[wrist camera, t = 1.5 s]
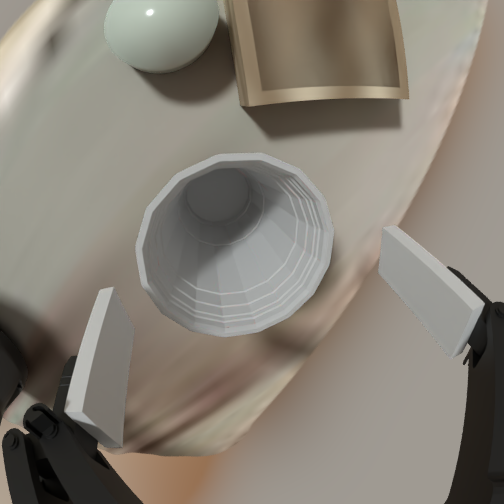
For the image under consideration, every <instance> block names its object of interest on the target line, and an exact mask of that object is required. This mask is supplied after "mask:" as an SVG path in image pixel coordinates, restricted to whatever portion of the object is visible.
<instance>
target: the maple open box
mask: <svg viewBox="0 0 504 504" xmlns="http://www.w3.org/2000/svg"><path fill="white" fill-rule="evenodd" d="M223 2H224V8H225V14H226V20H227V26H228V32H229V38H230V44H231V50H232V56H233V62H234V68H235V75H236V81H237V87H238V93H239V100H240V106H249V107H251V106H258V105H266V104H274V103H283V102H293V101H305V100H319V99H341V98H393V99H409V89H408V76H407V66H406V57H405V49H404V42H403V36H402V29H401V24H400V18H399V13H398V8H397V3H396V0H223Z"/></svg>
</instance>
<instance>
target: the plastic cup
mask: <svg viewBox="0 0 504 504" xmlns="http://www.w3.org/2000/svg"><path fill="white" fill-rule="evenodd" d="M333 237H334V228H333V224H332V221H331V217H330V213H329V210H328V206H327V203H326V199H325V197H324V196H323V194H322V193H321V192H320V191H319V190H318V189H317V187H316V186H315V185H314V184H313V183H312V182H311V180H310V179H309V178H308V177H307V176H306V175H305V174H304V172H303V171H302V170H301V169H299V168H297V167H295V166H292V165H290V164H288V163H286V162H283V161H281V160H279V159H276V158H274V157H272V156H269V155H267V154H264V153H230V154H217V155H214V156H212V157H210V158H208V159H206V160H204V161H201V162H199V163H197V164H195V165H193V166H191V167H189V168H187V169H185V170H183V171H181V172H179V173H177V174H175V175H174V176H173V177H172V179H171V180H170V181H169V182H168V183H167V184H166V185H165V187H164V188H163V189H162V190H161V191H160V192H159V194H158V195H157V196H156V197H155V198H154V200H153V201H152V202H151V203H150V204H149V206H148V207H147V208H146V211H145V214H144V217H143V221H142V224H141V228H140V231H139V235H138V239H137V242H136V246H135V251H136V257H137V263H138V269H139V274H140V279H141V285H142V286H143V288H144V289H145V291H146V292H147V294H148V295H149V296H150V298H151V299H152V301H153V302H154V303H155V305H156V306H157V308H158V309H159V310H160V312H161V313H162V314H163V315H165V316H167V317H168V318H170V319H172V320H173V321H175V322H176V323H178V324H180V325H181V326H183V327H185V328H187V329H188V330H190V331H193V332H198V333H203V334H209V335H214V336H220V337H230V336H237V335H244V334H251V333H257V332H260V331H262V330H264V329H266V328H268V327H270V326H273V325H275V324H277V323H279V322H281V321H283V320H285V319H287V318H289V317H290V316H291V315H292V314H293V313H294V312H295V311H296V310H298V309H299V308H300V307H301V306H302V305H303V304H304V303H305V302H306V301H307V300H308V299H309V298H310V297H311V296H312V295H313V294H314V293H315V291H316V289H317V287H318V285H319V284H320V282H321V280H322V278H323V276H324V274H325V272H326V271H327V269H328V267H329V265H330V259H331V252H332V244H333Z"/></svg>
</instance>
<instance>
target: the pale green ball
mask: <svg viewBox="0 0 504 504" xmlns="http://www.w3.org/2000/svg"><path fill="white" fill-rule="evenodd" d="M218 19H219V7H218V3H217V0H114V1H113V2H112V4H111V6H110V8H109V10H108V12H107V14H106V18H105V23H104V34H105V39H106V42H107V44H108V46H109V48H110V50H111V51H112V52H113V53H114V54H115V55H116V56H117V57H118V58H119V59H120V60H122V61H124V62H125V63H127V64H129V65H131V66H132V67H134V68H136V69H138V70H140V71H144V72H147V73H156V74H160V73H169V72H173V71H177V70H180V69H182V68H184V67H186V66H188V65H190V64H191V63H193V62H194V61H196V60H197V59H198V58H199V57H200V56H201V55H202V54H203V53H204V52H205V50H206V49H207V48H208V46H209V44H210V42H211V40H212V37H213V35H214V32H215V29H216V27H217V23H218Z"/></svg>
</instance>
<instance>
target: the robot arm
mask: <svg viewBox="0 0 504 504" xmlns="http://www.w3.org/2000/svg"><path fill="white" fill-rule="evenodd" d="M378 273H379V274H380V275H381V277H382V278H383V279H384V280H385V281H386V282H387V283H388V284H389V286H390V287H391V288H392V289H393V290H394V291H395V292H396V293H397V295H398V296H399V297H400V298H401V299H402V300H403V302H404V303H405V304H406V305H407V306H408V307H409V309H410V310H411V311H412V312H413V313H414V314H415V316H416V317H417V318H418V319H419V321H420V322H421V323H422V324H423V325H424V327H425V328H426V329H427V330H428V332H429V333H430V334H431V335H432V337H433V338H434V339H435V340H436V342H437V343H438V344H439V345H440V347H441V348H442V349H443V351H444V352H445V353H446V355H447V356H448V357H449V358H450V359H452V358H454V357H455V356H457V355H459V354H461V353H462V352H463V350H464V348H465V346H466V344H467V343H468V344H469V345H470V346H471V348H470V350H469V352H468V354H467V356H466V357H465V359H464V361H463V365H465V364H466V362H467V360H468V359H469V364H468V366H469V368H468V369H469V370H468V388H467V402H466V411H465V419H464V427H463V433H462V440H461V445H460V451H459V456H458V461H457V465H456V470H455V474H454V478H453V482H452V486H451V489H450V493H449V496H448V498H447V500H446V502H445V503H444V504H504V303H502V302H494V303H492V302H491V301H490V300H489V299H488V298H487V297H486V296H485V295H484V294H483V293H482V292H480V290H478V289H477V288H476V287H475V286H474V285H473V284H471V282H470V281H469V280H468V279H466V278H465V277H464V276H463V275H462V274H461V273H460V272H459V271H457V270H455V269H453V268H451V267H449V266H448V267H445V266H444V265H443V264H442V263H441V262H440V261H438V260H437V259H436V258H435V257H434V256H433V255H431V254H430V253H429V252H428V251H426V250H425V249H424V248H423V247H422V246H421V245H419V244H418V243H417V242H416V241H414V240H413V239H412V238H411V237H409V236H408V235H407V234H405V233H404V232H403V231H402V230H401V229H399V228H398V227H397V226H396V225H392V226H387V227H383V229H382V241H381V252H380V262H379V270H378ZM134 333H135V328H134V326H133V324H132V322H131V321H130V319H129V317H128V315H127V313H126V311H125V309H124V307H123V305H122V303H121V301H120V299H119V297H118V295H117V292H116V290H115V288H114V287H110V288H105V289H101V290H100V291H99V293H98V296H97V299H96V302H95V304H94V307H93V310H92V313H91V316H90V319H89V322H88V325H87V328H86V331H85V334H84V337H83V340H82V343H81V347H80V350H79V353H78V356H71V357H70V359H69V360H68V362H67V363H66V365H65V367H64V370H63V374H62V378H61V381H60V386H59V388H58V392H57V396H56V400H55V404H54V408H53V411H52V410H51V409H49V408H48V407H47V406H46V405H45V404H42V403H36V404H34V405H32V406H31V407H30V408H29V409H28V410H27V411H26V413H25V415H24V419H23V426H24V428H25V429H26V430H27V431H28V432H30V433H29V434H26V435H25V434H24V433H23V432H21V431H20V430H19V429H16V428H13V429H10V430H9V431H7V433H6V434H5V435H4V437H3V441H2V449H3V457H4V464H5V470H6V476H7V481H8V486H9V491H10V495H11V499H12V503H13V504H143V503H142V501H141V500H140V499H139V498H138V497H137V496H136V495H135V494H134V493H133V492H132V491H131V489H130V488H129V487H128V486H127V485H126V484H125V482H124V481H123V480H122V479H121V478H120V476H119V475H118V474H117V473H116V471H115V470H114V469H113V468H112V466H111V465H110V464H109V462H108V461H107V460H106V458H105V457H104V456H103V454H102V453H101V452H100V451H99V450H98V449H97V444H98V442H99V443H100V444H102V445H103V446H104V447H107V448H123V430H124V416H125V404H126V394H127V385H128V376H129V368H130V360H131V353H132V346H133V339H134ZM27 376H28V369H27V366H26V363H25V361H24V359H23V357H22V355H21V354H20V352H19V351H18V349H17V348H16V347H15V345H14V344H13V343H12V342H11V341H10V340H9V338H8V337H7V336H6V335H5V334H4V333H3V332H1V331H0V424H1V420H2V417H3V414H4V412H5V411H6V410H7V408H8V407H9V406H10V405H11V403H12V402H13V401H14V400H15V398H16V397H17V396H18V395H19V393H20V392H21V391H22V390H23V388H24V385H25V382H26V379H27Z"/></svg>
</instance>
